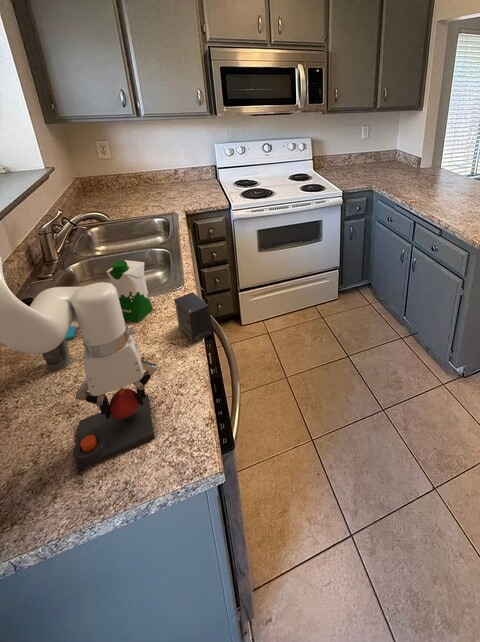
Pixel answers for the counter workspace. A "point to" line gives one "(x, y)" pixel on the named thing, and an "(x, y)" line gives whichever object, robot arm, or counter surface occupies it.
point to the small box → (193, 317)
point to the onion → (123, 403)
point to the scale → (113, 435)
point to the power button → (88, 443)
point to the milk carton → (131, 289)
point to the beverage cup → (57, 356)
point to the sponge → (71, 332)
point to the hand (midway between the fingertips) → (125, 406)
